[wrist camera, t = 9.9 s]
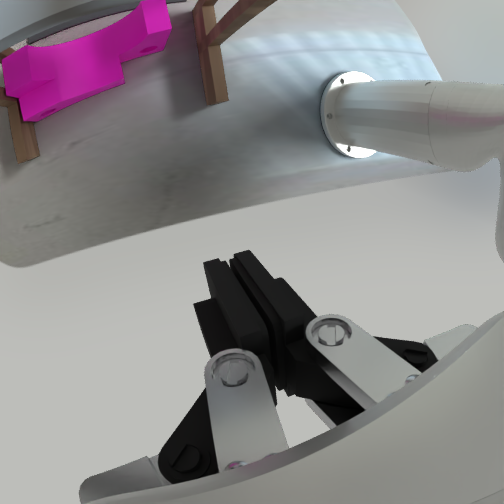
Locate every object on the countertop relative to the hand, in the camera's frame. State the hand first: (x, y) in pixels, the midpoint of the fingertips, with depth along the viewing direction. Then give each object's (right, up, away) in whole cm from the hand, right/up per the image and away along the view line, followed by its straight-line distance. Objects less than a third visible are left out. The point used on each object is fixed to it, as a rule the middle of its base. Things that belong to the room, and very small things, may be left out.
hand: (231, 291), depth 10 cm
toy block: (-16, +20, +11) cm, 28 cm away
